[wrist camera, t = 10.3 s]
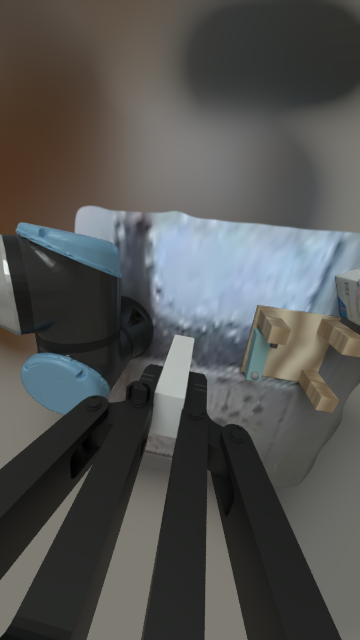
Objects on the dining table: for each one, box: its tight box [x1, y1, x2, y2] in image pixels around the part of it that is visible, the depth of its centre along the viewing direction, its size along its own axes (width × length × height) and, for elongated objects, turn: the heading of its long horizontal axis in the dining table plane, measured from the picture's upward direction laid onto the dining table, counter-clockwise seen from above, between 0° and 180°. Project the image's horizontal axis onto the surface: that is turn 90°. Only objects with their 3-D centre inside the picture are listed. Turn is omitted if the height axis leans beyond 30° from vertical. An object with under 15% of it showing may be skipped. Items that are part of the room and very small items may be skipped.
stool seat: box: [241, 305, 360, 413], centre depth 42 cm, size 16×16×10 cm
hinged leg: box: [244, 328, 271, 382], centre depth 45 cm, size 11×3×4 cm, turn 175°
